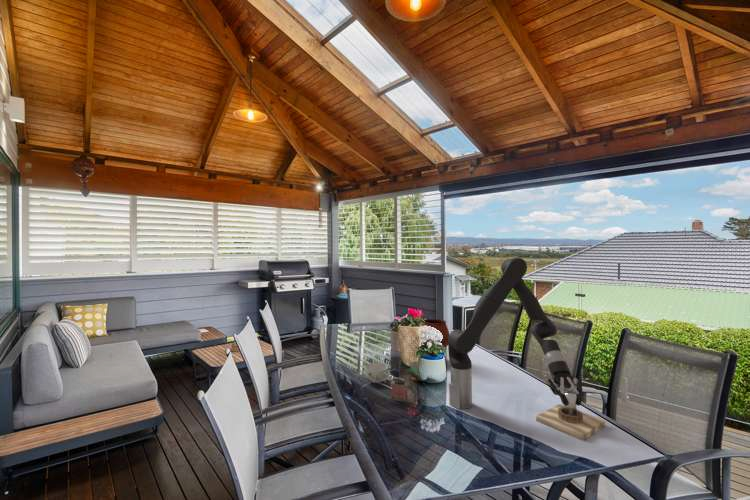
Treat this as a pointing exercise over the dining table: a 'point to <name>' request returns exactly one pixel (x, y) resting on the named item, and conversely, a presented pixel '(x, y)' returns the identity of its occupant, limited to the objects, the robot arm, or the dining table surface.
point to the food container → (415, 371)
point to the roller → (570, 403)
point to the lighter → (399, 389)
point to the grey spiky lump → (376, 372)
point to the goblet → (439, 328)
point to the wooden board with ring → (571, 422)
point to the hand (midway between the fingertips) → (572, 404)
